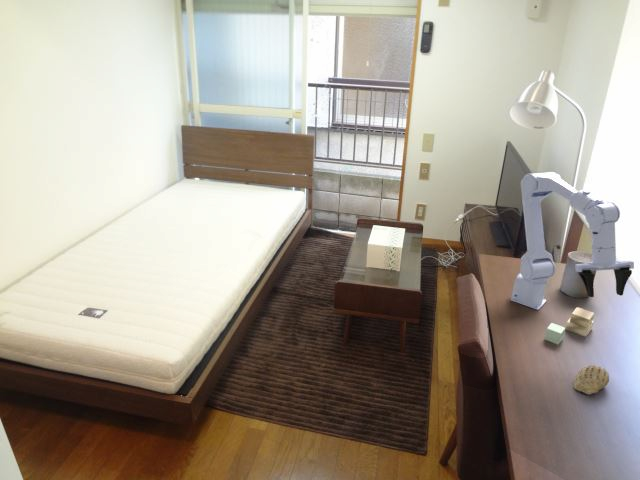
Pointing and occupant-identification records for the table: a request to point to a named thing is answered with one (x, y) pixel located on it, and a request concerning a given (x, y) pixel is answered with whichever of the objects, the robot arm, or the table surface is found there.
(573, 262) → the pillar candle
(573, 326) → the base slab
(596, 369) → the seashell
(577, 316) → the beige square block
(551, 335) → the sage cube
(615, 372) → the table surface
